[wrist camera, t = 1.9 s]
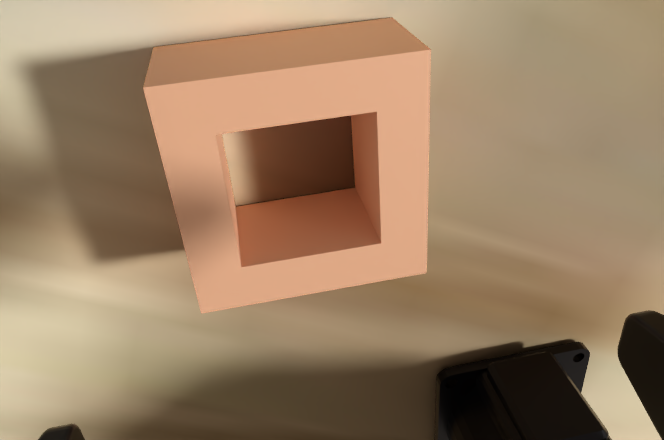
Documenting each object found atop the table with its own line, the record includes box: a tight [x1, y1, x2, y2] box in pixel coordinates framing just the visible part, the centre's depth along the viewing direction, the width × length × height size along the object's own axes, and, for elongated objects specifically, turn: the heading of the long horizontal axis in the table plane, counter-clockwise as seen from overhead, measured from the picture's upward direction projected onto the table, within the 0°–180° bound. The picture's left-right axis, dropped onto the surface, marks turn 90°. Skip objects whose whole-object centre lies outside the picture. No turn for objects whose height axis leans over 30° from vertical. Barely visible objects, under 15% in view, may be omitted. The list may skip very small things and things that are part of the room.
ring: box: [143, 18, 431, 313], centre depth 16 cm, size 6×6×3 cm
